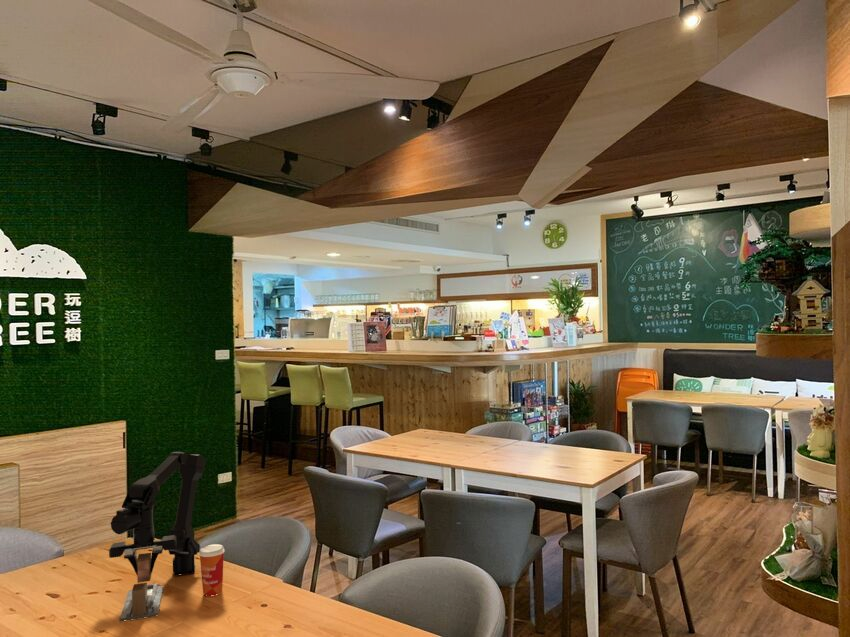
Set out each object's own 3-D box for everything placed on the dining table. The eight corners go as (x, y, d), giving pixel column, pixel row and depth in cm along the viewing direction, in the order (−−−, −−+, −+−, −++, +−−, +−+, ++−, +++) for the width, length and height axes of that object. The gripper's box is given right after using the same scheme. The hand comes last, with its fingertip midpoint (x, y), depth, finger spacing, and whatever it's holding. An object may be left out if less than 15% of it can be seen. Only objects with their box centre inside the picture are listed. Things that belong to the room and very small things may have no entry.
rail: (163, 588, 196) (162, 563, 196) (158, 615, 177) (157, 587, 177) (128, 593, 193) (128, 568, 193) (119, 622, 174) (119, 593, 174)
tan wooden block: (151, 574, 194) (150, 552, 194) (149, 581, 188) (149, 558, 188) (139, 576, 193) (138, 554, 193) (137, 583, 187) (136, 560, 187)
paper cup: (194, 595, 190) (193, 550, 190) (213, 586, 197) (212, 542, 197) (212, 600, 186) (211, 554, 186) (231, 590, 193) (230, 545, 193)
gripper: (176, 512, 202) (178, 560, 201) (113, 519, 195) (115, 569, 195) (175, 522, 191) (176, 572, 191) (108, 530, 185) (109, 582, 185)
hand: (144, 573), depth 191 cm, fingers closed on tan wooden block, 3 cm apart
